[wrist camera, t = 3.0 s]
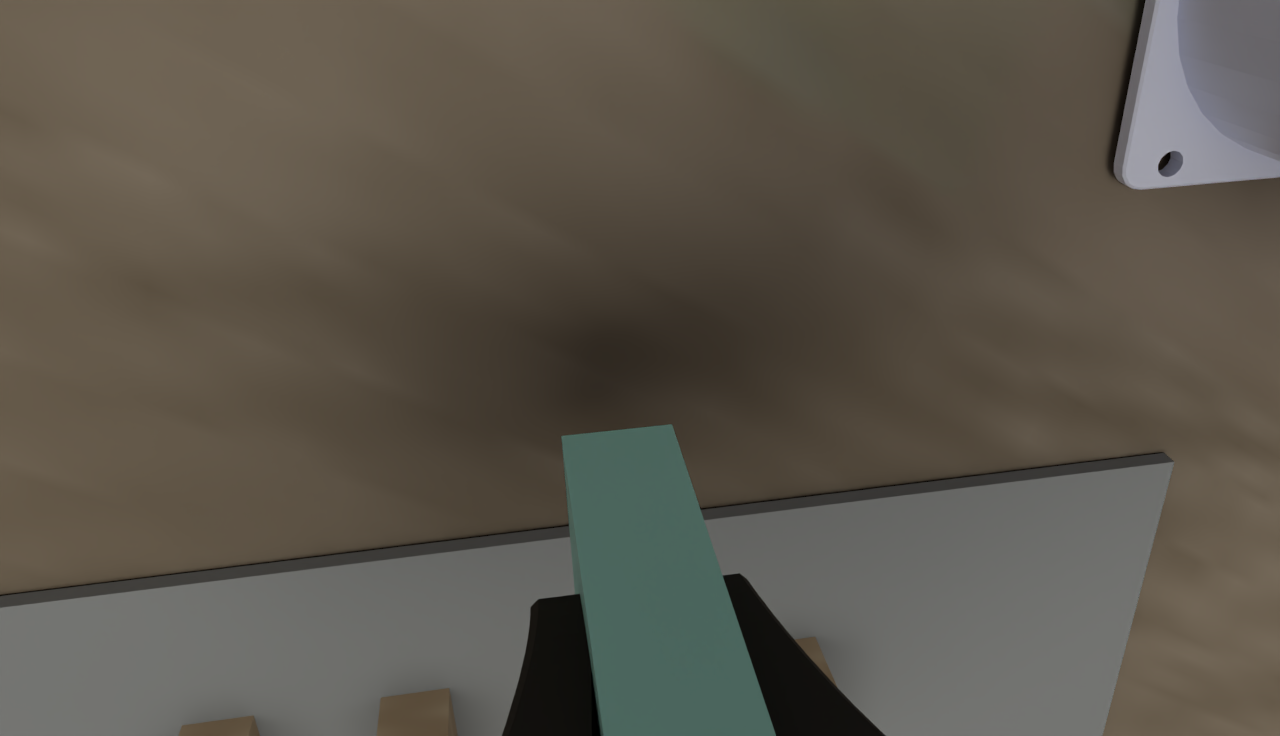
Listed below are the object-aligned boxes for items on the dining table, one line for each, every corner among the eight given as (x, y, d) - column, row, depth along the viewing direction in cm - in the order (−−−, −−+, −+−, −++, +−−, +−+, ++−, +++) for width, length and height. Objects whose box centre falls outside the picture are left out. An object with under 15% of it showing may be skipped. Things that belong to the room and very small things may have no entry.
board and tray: (2132, 239, 25) (2359, 292, 22) (1824, 665, 33) (1965, 750, 29) (-242, 499, 19) (-379, 624, 16) (20, 961, 26) (-41, 1109, 23)
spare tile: (671, 424, 14) (785, 764, 9) (676, 632, 16) (772, 1013, 11) (560, 435, 14) (610, 790, 9) (579, 644, 16) (628, 1038, 11)
